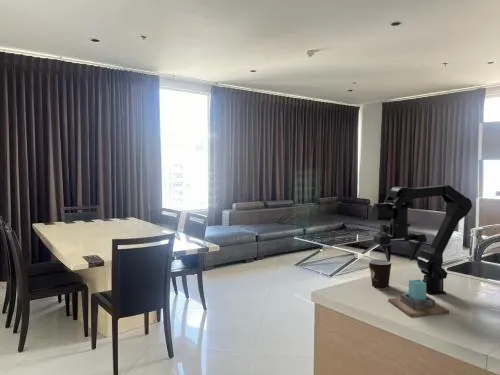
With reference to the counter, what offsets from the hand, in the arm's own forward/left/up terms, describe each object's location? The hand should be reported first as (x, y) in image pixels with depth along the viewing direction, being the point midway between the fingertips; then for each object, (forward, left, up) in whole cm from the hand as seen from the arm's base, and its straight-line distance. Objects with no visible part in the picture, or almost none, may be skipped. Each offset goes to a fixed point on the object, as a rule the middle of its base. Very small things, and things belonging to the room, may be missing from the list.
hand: (399, 260), depth 143 cm
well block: (+1, +13, -13) cm, 18 cm away
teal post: (+1, +13, -12) cm, 18 cm away
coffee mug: (+2, -12, -13) cm, 18 cm away
